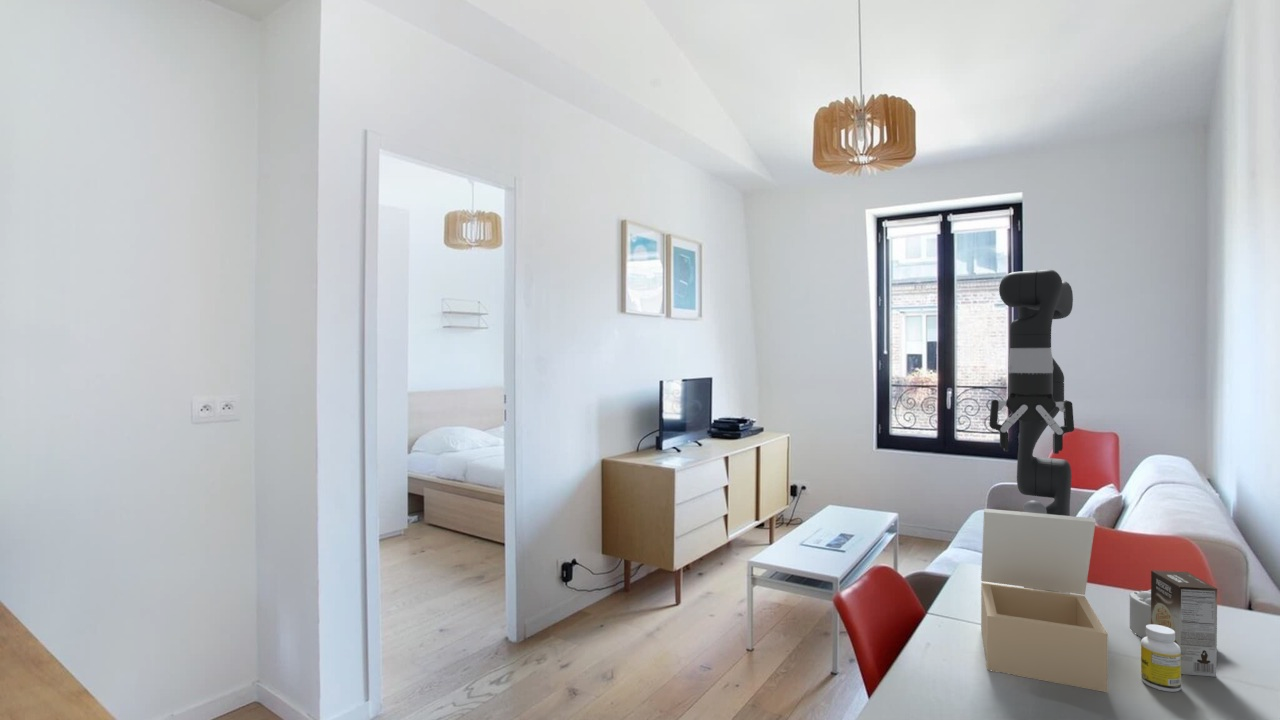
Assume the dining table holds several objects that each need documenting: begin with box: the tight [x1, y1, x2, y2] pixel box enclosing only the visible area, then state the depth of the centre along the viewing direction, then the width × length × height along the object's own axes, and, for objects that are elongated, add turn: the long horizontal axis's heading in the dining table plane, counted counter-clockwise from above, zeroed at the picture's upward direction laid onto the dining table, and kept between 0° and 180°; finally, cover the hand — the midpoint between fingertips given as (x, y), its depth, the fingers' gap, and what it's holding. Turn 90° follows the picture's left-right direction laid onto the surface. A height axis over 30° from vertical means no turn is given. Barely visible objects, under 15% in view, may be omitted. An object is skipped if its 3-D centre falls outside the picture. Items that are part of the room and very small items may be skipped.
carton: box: [980, 581, 1109, 693], centre depth 121 cm, size 19×18×10 cm
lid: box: [980, 499, 1097, 596], centre depth 127 cm, size 19×18×6 cm
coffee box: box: [1150, 569, 1218, 678], centre depth 118 cm, size 9×6×16 cm
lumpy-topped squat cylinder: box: [1129, 589, 1151, 639], centre depth 130 cm, size 10×13×9 cm
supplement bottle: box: [1140, 624, 1182, 693], centre depth 111 cm, size 5×5×10 cm
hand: (1030, 452), depth 127 cm, fingers open, 8 cm apart
